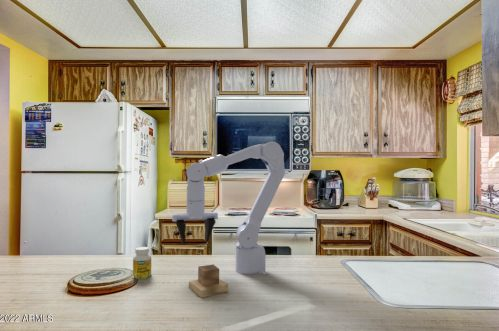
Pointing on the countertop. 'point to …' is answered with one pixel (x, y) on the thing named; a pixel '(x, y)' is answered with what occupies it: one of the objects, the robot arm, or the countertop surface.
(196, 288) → the tile top
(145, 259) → the supplement bottle
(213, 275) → the block
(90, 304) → the countertop surface
